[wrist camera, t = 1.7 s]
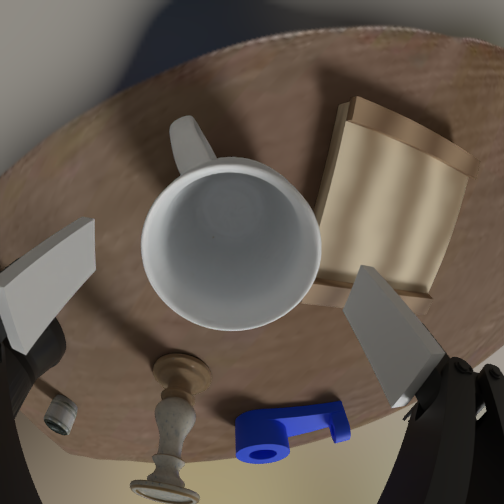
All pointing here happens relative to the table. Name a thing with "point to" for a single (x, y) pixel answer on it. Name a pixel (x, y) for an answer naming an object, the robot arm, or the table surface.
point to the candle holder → (173, 426)
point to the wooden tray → (386, 204)
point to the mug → (228, 238)
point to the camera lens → (61, 415)
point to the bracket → (285, 429)
